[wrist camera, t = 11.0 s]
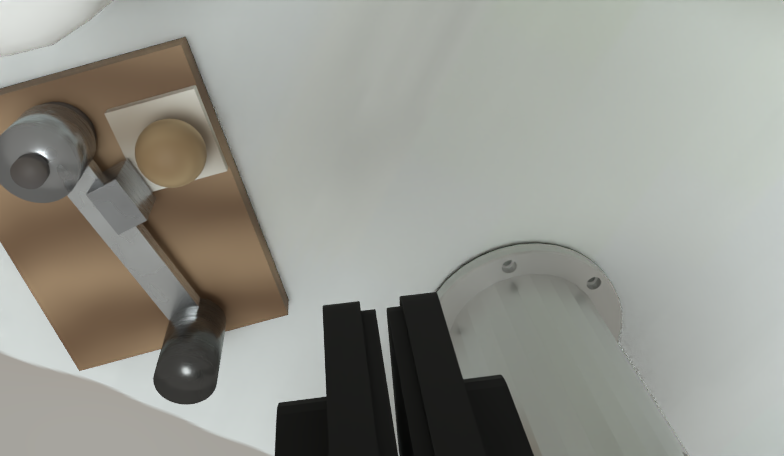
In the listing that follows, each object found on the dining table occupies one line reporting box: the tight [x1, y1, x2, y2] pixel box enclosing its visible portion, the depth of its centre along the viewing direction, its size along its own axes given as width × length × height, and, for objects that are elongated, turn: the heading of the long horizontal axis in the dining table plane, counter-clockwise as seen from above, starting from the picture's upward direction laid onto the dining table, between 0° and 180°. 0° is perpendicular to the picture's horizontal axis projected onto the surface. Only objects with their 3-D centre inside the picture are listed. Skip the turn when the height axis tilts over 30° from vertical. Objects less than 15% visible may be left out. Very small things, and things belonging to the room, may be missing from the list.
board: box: [0, 37, 289, 371], centre depth 35 cm, size 16×12×6 cm
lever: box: [0, 104, 226, 404], centre depth 34 cm, size 15×4×5 cm, turn 26°
